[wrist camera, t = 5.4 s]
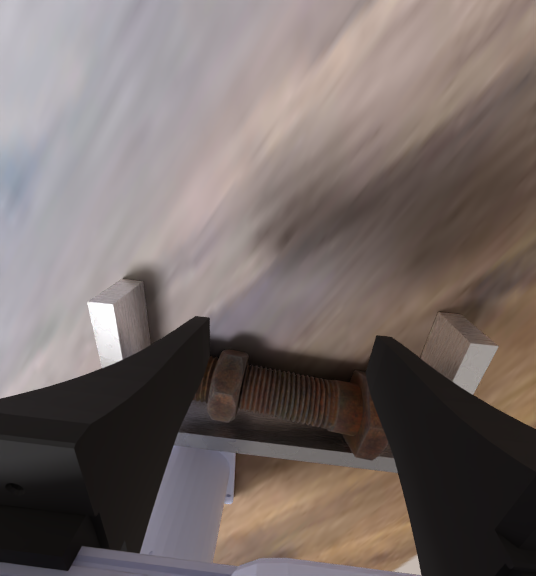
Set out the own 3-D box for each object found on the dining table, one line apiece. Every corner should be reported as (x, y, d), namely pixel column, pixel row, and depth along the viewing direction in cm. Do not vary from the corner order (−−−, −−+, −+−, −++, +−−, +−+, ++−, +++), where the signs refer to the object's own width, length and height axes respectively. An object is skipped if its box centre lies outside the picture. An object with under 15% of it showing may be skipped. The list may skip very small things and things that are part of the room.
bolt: (188, 332, 22) (366, 369, 22) (174, 394, 22) (356, 432, 22) (159, 338, 17) (401, 388, 16) (139, 422, 16) (388, 476, 16)
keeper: (409, 433, 23) (429, 476, 19) (140, 401, 23) (117, 438, 20) (461, 314, 18) (498, 346, 15) (121, 278, 19) (87, 301, 15)
